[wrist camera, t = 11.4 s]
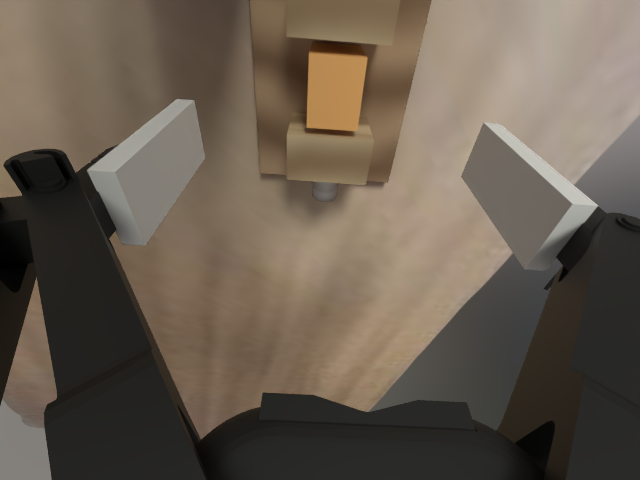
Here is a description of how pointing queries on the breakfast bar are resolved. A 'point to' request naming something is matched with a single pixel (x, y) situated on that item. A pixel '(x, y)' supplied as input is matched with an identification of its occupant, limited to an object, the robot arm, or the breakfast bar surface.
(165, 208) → the robot arm
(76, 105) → the breakfast bar surface
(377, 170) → the shaft bench
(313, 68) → the orange rectangular block
